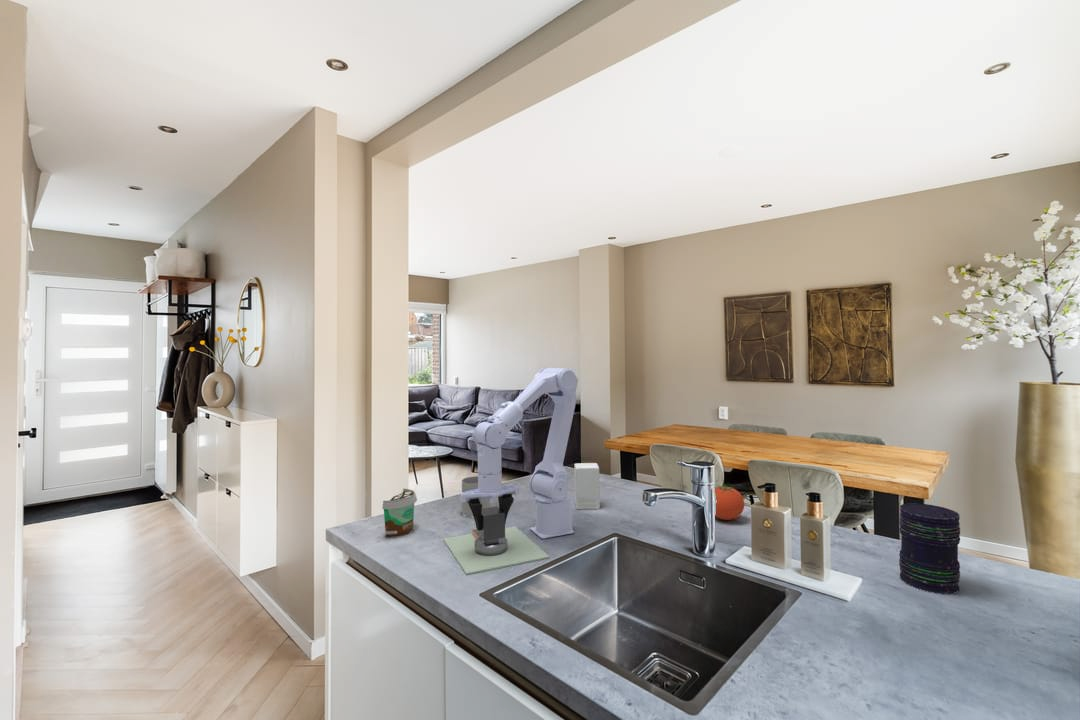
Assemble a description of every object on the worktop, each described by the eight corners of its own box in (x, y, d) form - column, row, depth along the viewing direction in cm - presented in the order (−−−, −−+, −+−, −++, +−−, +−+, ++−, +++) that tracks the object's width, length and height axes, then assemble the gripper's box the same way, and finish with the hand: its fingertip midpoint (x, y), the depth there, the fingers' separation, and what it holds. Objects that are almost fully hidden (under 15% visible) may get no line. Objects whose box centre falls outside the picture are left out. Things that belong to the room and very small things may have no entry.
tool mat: (515, 527, 138) (515, 526, 138) (549, 558, 118) (549, 556, 118) (443, 540, 130) (443, 538, 130) (466, 575, 109) (466, 573, 109)
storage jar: (888, 577, 106) (888, 507, 105) (917, 568, 109) (917, 500, 109) (941, 598, 96) (942, 521, 96) (971, 588, 100) (971, 514, 100)
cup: (475, 506, 157) (475, 474, 156) (495, 511, 152) (495, 478, 152) (456, 514, 150) (455, 481, 150) (476, 519, 145) (476, 485, 145)
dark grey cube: (497, 529, 126) (497, 506, 125) (505, 537, 121) (504, 512, 121) (477, 533, 123) (476, 509, 123) (483, 541, 118) (483, 516, 118)
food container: (404, 540, 130) (403, 502, 129) (383, 539, 131) (382, 501, 131) (424, 524, 142) (424, 488, 142) (404, 522, 143) (404, 488, 143)
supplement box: (600, 509, 152) (599, 468, 152) (575, 509, 152) (575, 468, 152) (597, 501, 160) (597, 462, 159) (574, 502, 160) (573, 462, 159)
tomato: (750, 525, 137) (750, 489, 137) (712, 525, 137) (712, 489, 137) (736, 512, 147) (736, 479, 147) (701, 513, 147) (701, 479, 147)
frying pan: (512, 552, 120) (511, 527, 120) (480, 558, 117) (479, 533, 117) (491, 531, 134) (491, 508, 134) (462, 536, 131) (462, 513, 131)
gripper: (465, 479, 115) (466, 537, 116) (523, 472, 121) (524, 527, 121) (457, 472, 122) (458, 527, 122) (513, 465, 128) (513, 518, 128)
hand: (490, 527), depth 122 cm, fingers closed on dark grey cube, 5 cm apart
